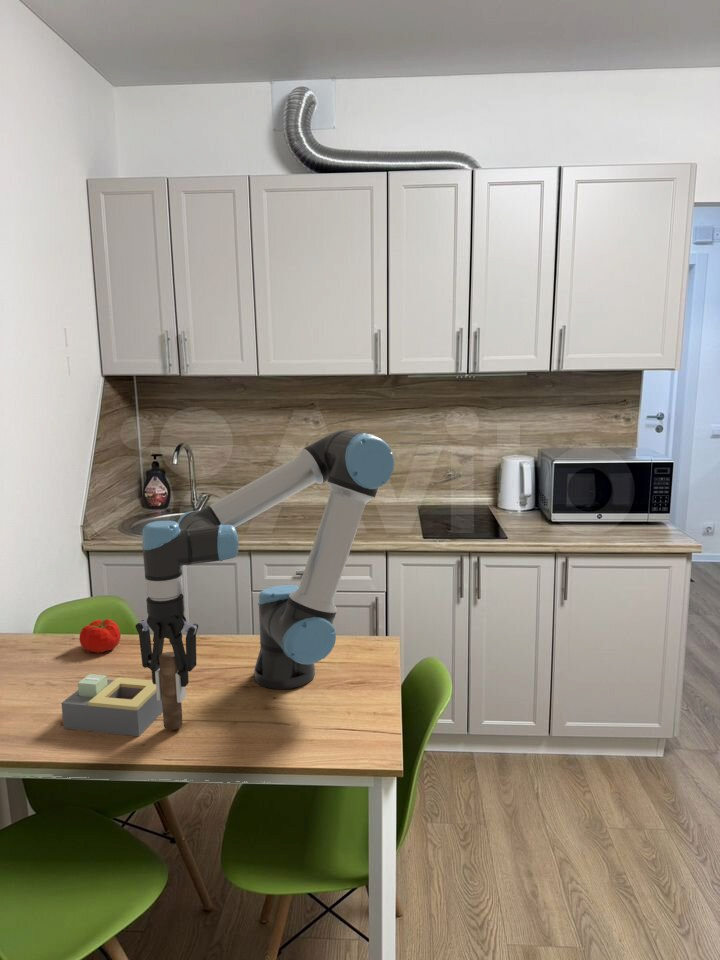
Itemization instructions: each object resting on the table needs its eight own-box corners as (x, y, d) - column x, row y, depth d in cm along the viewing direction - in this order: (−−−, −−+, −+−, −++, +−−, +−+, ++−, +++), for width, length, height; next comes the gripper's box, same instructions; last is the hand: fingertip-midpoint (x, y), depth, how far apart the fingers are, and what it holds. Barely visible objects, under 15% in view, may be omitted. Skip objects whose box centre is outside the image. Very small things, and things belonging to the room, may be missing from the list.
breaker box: (165, 708, 163) (163, 681, 162) (139, 736, 151) (136, 706, 150) (94, 702, 167) (92, 675, 165) (63, 728, 155) (61, 699, 154)
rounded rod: (185, 720, 155) (181, 652, 152) (177, 730, 151) (173, 660, 149) (169, 719, 156) (164, 650, 153) (160, 728, 152) (155, 658, 149)
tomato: (98, 660, 189) (96, 633, 188) (72, 651, 195) (70, 625, 194) (130, 646, 198) (128, 620, 197) (105, 638, 204) (103, 613, 203)
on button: (108, 692, 161) (106, 675, 160) (97, 701, 156) (95, 684, 156) (90, 690, 162) (89, 673, 161) (79, 699, 157) (77, 682, 157)
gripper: (210, 591, 150) (215, 693, 155) (136, 586, 154) (144, 687, 158) (195, 603, 143) (201, 710, 147) (118, 598, 147) (126, 703, 151)
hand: (171, 698), depth 153 cm, fingers closed on rounded rod, 4 cm apart
